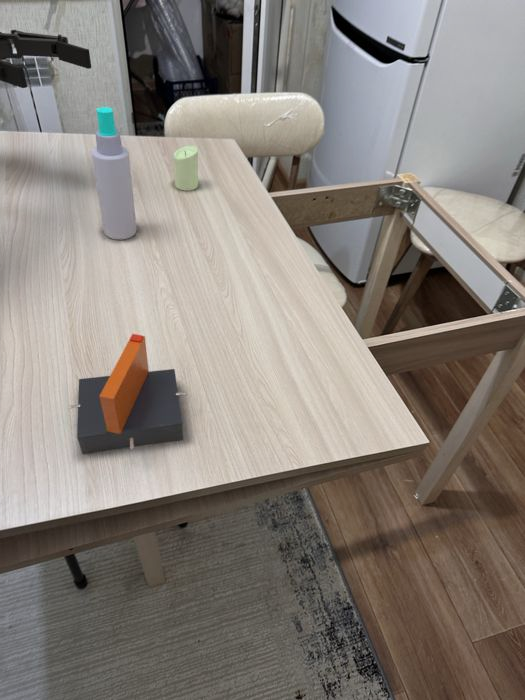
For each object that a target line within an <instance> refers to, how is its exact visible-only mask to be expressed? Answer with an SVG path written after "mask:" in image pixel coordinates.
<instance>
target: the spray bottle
mask: <svg viewBox="0 0 525 700" xmlns="http://www.w3.org/2000/svg"><path fill="white" fill-rule="evenodd" d="M96 117H97V124H98V129H97V130H96V131H95V142H96V143H95V145H96V146H94V147H93V148H92V150H91V160H92V165H93V166H92V167H93V172H94V179H95V185H96V192H97V198H98V205H99V211H100V215H101V216H100V217H101V222H102V229H103V233H104V235H105V236H106V237H108V238H110V239H113V240H127V239H130V238H132V237H133V236H135V234H136V233H137V229H138V228H137V227H138V226H137V219H136V210H135V209H136V208H135V199H134V190H133V189H134V188H133V178H132V170H131V161H130V160H131V159H130V151H129V149H128V148H127V147H125V146H123V144H122V138H121V132H120V131H119V130H118V129H116V123H115V117H114V110H113V108H112V107H109V106H99V107H98V108H96Z"/></svg>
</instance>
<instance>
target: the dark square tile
mask: <svg viewBox="0 0 525 700" xmlns="http://www.w3.org/2000/svg"><path fill="white" fill-rule="evenodd" d="M109 377H110V375H105V376H95V377H93V376H92V377H86V378H85V377H84V378H79V379H78V396H77V397H78V398H77V400H78V402H77V404H72V405H68V406H67V409H68V410H70V409H77V425H76V426H77V427H76V438H77V442H78V445H79V448H80V451H81V454H82V455H83V454H84V455H85V454H90V453H92V454H93V453H99V452H106V451H113V450H119V449H127V448H129V449H130V450H133V449H135V447H140V446H141V447H142V446H149V445H155V444H163V443H170V442H176V441H183V440H184V428H183V425H184V423H183V418H182V417H183V416H182V411H181V405H180V397H179V396H187V395H188V391H181V392H179V391H178V390H179V389H178V384H177V377H176V369H175V368H170V369H169V368H168V369H160V370H152V371H149V373H148V375H147V377H146V379H145V381H144V384H143V386H142V388H141V390H140V392H139V395H138V397H137V399H136V401H135V403H134V405H133V408H132V410H131V412H130V414H129V416H128V419H127V421H126V423H125V425H124V427H123V430H122V432H121V434H117V433H112V432H108V431H107V428H106V423H105V419H104V414H103V410H102V405H101V401H100V397H99V396H100V394H101V392H102V390H103V388H104V387H105V385H106V383H107V381H108V379H109Z"/></svg>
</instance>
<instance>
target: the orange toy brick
mask: <svg viewBox="0 0 525 700" xmlns="http://www.w3.org/2000/svg"><path fill="white" fill-rule="evenodd" d="M148 362H149V361H148V353H147V345H146V336H145V335H141V334H136V333H131V335H130V337H129V339H128V341H127V343H126V345H125V347H124V348H123V351H122V352H121V354H120V356H119V358H118V360H117V362H116V364H115V366H114V368H113V370H112V372H110V373H111V374H110V375H109V376H110V377H109V379H108V381H107V383H106V385H105V387H104V388H103V390H102V392H101V394H100V396H99V397H100V401H101V405H102V410H103V414H104V419H105V423H106V428H107V431H108V432H112V433H117V434H121V432H122V430H123V427H124V425H125V423H126V421H127V419H128V416H129V414H130V412H131V410H132V408H133V405H134V403H135V401H136V399H137V397H138V395H139V392H140V390H141V388H142V386H143V384H144V381H145V379H146V377H147V375H148V373H149V372H150V371H149V363H148Z"/></svg>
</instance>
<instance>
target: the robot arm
mask: <svg viewBox="0 0 525 700" xmlns="http://www.w3.org/2000/svg"><path fill="white" fill-rule="evenodd" d="M13 47H14V48H15V52H14V49H13ZM90 53H91V52H90V49H88V48H85V47H82V46H78V45H75V44H72V43H69V39H68V37H67V36H63V35H62V34H59V33H58V34H57V35H50V34H44V33H36V32H35V33H34V32H26V31H21V30H16V29H11V30H10V33H7V32H1V31H0V81H1V82H4V83H6V84H9V85H13V86H15V87H19V88H20V89H27V88H28V83H27V79H26V74H25V70H24V67H23V66H20V65H18V64H15V63H11V62H9V61H6V60H7V59H10V60H11V59H13V60H14V59H15V60H21V59H23V57H40V58H41V57H43V58H58V60H59V61H62V62H65V63H68V64H72V65H74V66H78V67H81V68H85V69H88V70H89V69H92V62H91V55H90Z"/></svg>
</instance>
